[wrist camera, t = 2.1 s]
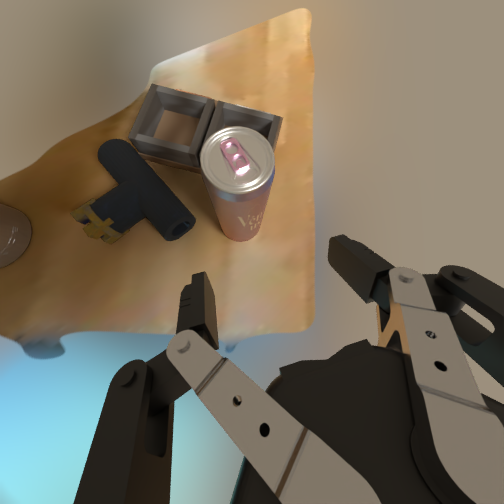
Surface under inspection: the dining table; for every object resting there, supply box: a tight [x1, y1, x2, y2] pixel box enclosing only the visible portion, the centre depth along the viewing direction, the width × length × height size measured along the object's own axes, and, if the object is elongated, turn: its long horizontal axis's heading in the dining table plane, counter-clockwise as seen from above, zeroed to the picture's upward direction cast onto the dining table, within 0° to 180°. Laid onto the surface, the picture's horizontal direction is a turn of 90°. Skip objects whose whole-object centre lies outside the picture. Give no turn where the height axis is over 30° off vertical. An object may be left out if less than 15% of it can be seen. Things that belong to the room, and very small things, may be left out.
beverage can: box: [200, 126, 275, 242], centre depth 21 cm, size 6×6×15 cm
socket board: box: [128, 84, 283, 174], centre depth 29 cm, size 20×13×4 cm, turn 76°
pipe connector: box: [70, 139, 196, 244], centre depth 26 cm, size 12×5×15 cm
